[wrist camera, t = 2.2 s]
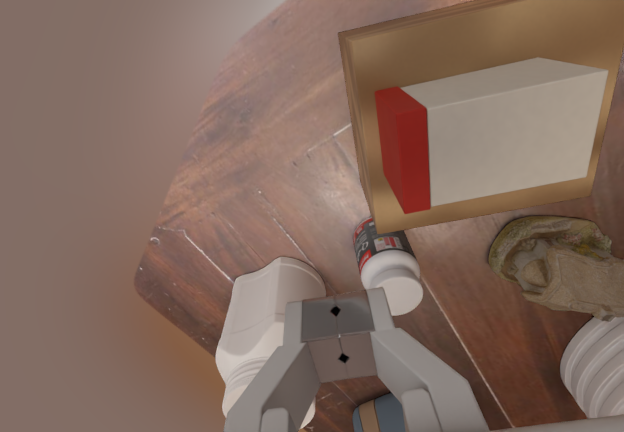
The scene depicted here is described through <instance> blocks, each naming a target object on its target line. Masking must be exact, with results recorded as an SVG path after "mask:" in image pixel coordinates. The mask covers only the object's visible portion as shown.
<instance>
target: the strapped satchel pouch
mask: <svg viewBox="0 0 624 432" xmlns="http://www.w3.org/2000/svg"><path fill="white" fill-rule="evenodd" d="M353 426H354V432H406V431H405V423H404V416H403V408H402V404H401V403H400V402H399V400H398V399H397V398H396V397H395V396H394V395H393V393H392V392H391V393H389V394H386V395H384V396H381V397H379V398H376V399H373V400H371V401H368V402H366V403H363V404H361V405H359V406H358V407H357V408H356V409H355V410H354V413H353Z"/></svg>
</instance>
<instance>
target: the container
mask: <svg viewBox="0 0 624 432" xmlns="http://www.w3.org/2000/svg"><path fill="white" fill-rule="evenodd" d="M608 72H609V71H608V70H606V69H600V68H595V67H589V66H583V65H578V64H572V63H567V62H561V61H556V60H550V59H545V58H539V57H537V58H533V59H528V60H524V61H519V62H515V63H510V64H506V65H501V66H496V67H492V68H487V69H483V70H478V71H474V72H469V73H465V74H460V75H456V76H451V77H447V78H442V79H438V80H433V81H428V82H424V83H419V84H415V85H410V86H406V87H401V88H399V87H398V86H396V87H392V88H387V89H383V90H378V91H375V101H376V110H377V119H378V128H379V136H380V145H381V154H382V163H383V172H384V175H385V177H386V179H387V181H388V183H389V185H390V187H391V189H392V191H393V193H394V195H395V197H396V199H397V200H398V202H399V204H400V206H401V208H402V210H403V212H404V214H409V213H414V212H420V211H425V210H430V208H431V207H433V206H438V205H443V204H448V203H454V202H459V201H464V200H469V199H474V198H480V197H485V196H490V195H495V194H501V193H506V192H511V191H516V190H522V189H527V188H532V187H537V186H543V185H548V184H553V183H558V182H563V181H569V180H574V179H579V178H584V177H586V176H587V172H588V167H589V162H590V158H591V153H592V148H593V143H594V139H595V134H596V129H597V124H598V120H599V115H600V110H601V105H602V101H603V96H604V91H605V86H606V82H607V77H608ZM430 206H431V207H430Z"/></svg>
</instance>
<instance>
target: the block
mask: <svg viewBox="0 0 624 432" xmlns="http://www.w3.org/2000/svg"><path fill="white" fill-rule="evenodd" d="M338 37H339V44H340V50H341V57H342V63H343V70H344V76H345V83H346V90H347V96H348V103H349V109H350V116H351V123H352V129H353V136H354V142H355V149H356V155H357V162H358V169H359V175H360V182H361V185H362V188H363V191H364V194H365V197H366V200H367V203H368V206H369V210H370V213H371V216H372V219H373V222H374V225H375V228H376V231H377V234H383V233H389V232H395V231H400V230H406V229H411V228H417V227H422V226H428V225H433V224H439V223H445V222H450V221H456V220H461V219H467V218H472V217H478V216H483V215H489V214H495V213H500V212H506V211H511V210H517V209H522V208H528V207H533V206H539V205H545V204H550V203H556V202H561V201H567V200H572V199H578V198H583V197H589V196H590V195H591V191H592V186H593V182H594V178H595V173H596V169H597V164H598V160H599V155H600V151H601V146H602V142H603V137H604V133H605V128H606V124H607V119H608V115H609V110H610V106H611V102H612V97H613V93H614V88H615V84H616V79H617V75H618V70H619V66H620V61H621V57H622V52H623V48H624V0H475V1H470V2H466V3H462V4H458V5H453V6H449V7H445V8H441V9H436V10H432V11H428V12H424V13H420V14H415V15H411V16H407V17H403V18H398V19H394V20H390V21H386V22H381V23H377V24H373V25H369V26H365V27H360V28H356V29H352V30H348V31H343V32H339V33H338ZM537 57H539V58H545V59H550V60H556V61H561V62H567V63H572V64H578V65H583V66H589V67H595V68H600V69H606V70H608V71H609V72H608V77H607V82H606V86H605V91H604V96H603V101H602V105H601V110H600V115H599V120H598V124H597V129H596V134H595V139H594V143H593V148H592V153H591V158H590V162H589V167H588V172H587V176H586V177H584V178H579V179H574V180H569V181H563V182H558V183H553V184H548V185H543V186H537V187H532V188H527V189H522V190H516V191H511V192H506V193H501V194H495V195H490V196H485V197H480V198H474V199H469V200H464V201H459V202H454V203H448V204H443V205H438V206H433V207H431V206H430V207H431V208H430V210H425V211H420V212H414V213H409V214H404V212H403V210H402V208H401V206H400V204H399V202H398V200H397V199H396V197H395V195H394V193H393V191H392V189H391V187H390V185H389V183H388V181H387V179H386V177H385V175H384V172H383V163H382V154H381V145H380V136H379V128H378V119H377V110H376V101H375V91H378V90H383V89H387V88H392V87H396V86H398V87H399V88H401V87H406V86H410V85H415V84H419V83H424V82H428V81H433V80H438V79H442V78H447V77H451V76H456V75H460V74H465V73H469V72H474V71H478V70H483V69H487V68H492V67H496V66H501V65H506V64H510V63H515V62H519V61H524V60H528V59H533V58H537Z"/></svg>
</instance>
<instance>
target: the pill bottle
mask: <svg viewBox="0 0 624 432" xmlns="http://www.w3.org/2000/svg"><path fill="white" fill-rule="evenodd" d="M353 242H354V248H355V252H356V257H357V262H358V267H359V271H360V276H361V280H362V284H363V286H364V287H365V289H372V288H377V287H383V288H384V290H385V294H386V297H387V301H388V304H389V308H390V311H391V315H393V316H395V315H402V314H405V313H408V312H410V311H412V310H413V309H414V308H416V307H417V306H418V305H419V303H420V302H421V300H422V297H423V289H422V286H421V283H420V281H419V277H420V268H419V265H418V262H417V260H416V257H415V255H414V253H413V251H412V248H411V246H410V244H409V242H408V239H407V237H406V235H405V232H404V230H400V231H395V232H389V233H383V234H377V231H376V228H375V225H374V222H373V219H372V217H369V218H367V219H365V220H364V221H362V222H361V223H360V224H359V225H358V227H357V228H356V230H355V232H354V236H353Z"/></svg>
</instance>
